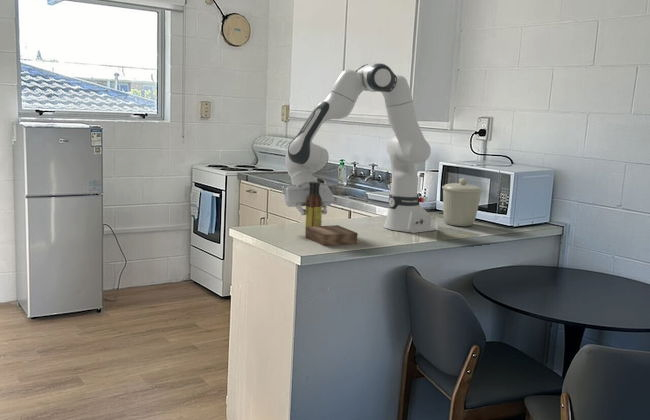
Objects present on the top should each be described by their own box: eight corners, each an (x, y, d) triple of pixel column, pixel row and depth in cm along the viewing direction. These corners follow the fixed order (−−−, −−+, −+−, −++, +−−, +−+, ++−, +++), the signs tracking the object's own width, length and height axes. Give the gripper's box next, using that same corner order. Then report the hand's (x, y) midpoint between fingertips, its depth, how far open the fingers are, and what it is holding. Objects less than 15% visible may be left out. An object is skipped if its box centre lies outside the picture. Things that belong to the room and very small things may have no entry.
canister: (429, 221, 291) (434, 175, 287) (456, 219, 302) (461, 175, 298) (460, 229, 277) (465, 181, 273) (487, 227, 287) (492, 180, 284)
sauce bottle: (321, 231, 253) (325, 181, 249) (319, 234, 246) (323, 183, 243) (305, 230, 253) (308, 180, 250) (303, 233, 247) (306, 182, 244)
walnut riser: (337, 235, 247) (337, 225, 247) (356, 243, 236) (357, 233, 235) (305, 237, 240) (305, 226, 240) (323, 245, 229) (324, 234, 228)
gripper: (283, 180, 247) (293, 210, 241) (329, 180, 257) (340, 208, 251) (277, 190, 252) (287, 219, 245) (322, 189, 262) (333, 217, 255)
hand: (314, 214), depth 248 cm, fingers open, 8 cm apart
